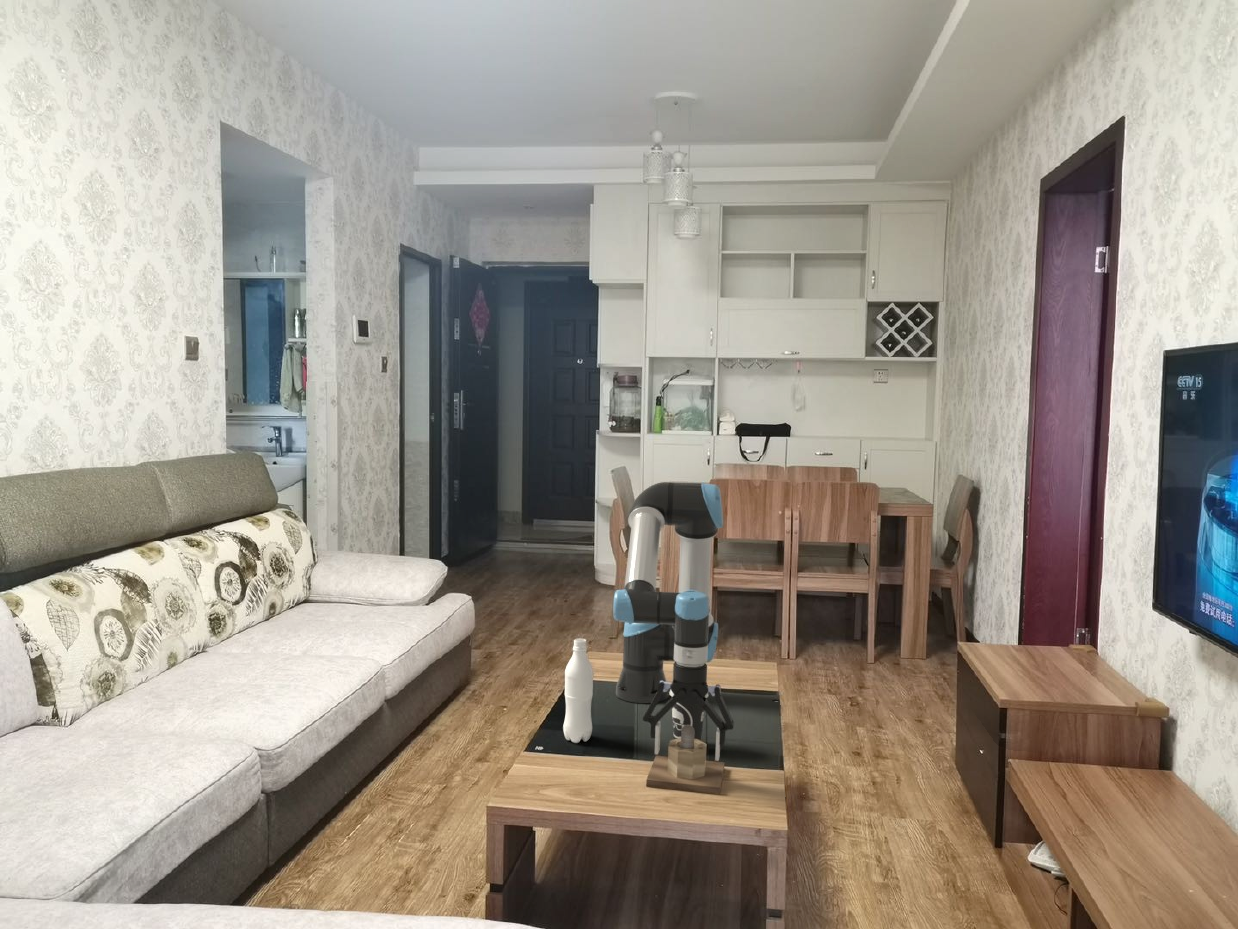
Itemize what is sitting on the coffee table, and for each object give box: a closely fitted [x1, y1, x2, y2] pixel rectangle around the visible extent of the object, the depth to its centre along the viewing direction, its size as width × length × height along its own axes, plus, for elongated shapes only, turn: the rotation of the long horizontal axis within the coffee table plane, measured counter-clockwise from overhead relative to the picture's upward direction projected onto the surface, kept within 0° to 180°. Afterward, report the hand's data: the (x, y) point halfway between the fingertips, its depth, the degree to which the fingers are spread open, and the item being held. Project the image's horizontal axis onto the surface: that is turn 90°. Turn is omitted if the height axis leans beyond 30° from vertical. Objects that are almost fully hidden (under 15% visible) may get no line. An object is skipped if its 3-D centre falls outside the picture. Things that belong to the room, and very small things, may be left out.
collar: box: [667, 738, 707, 779], centre depth 201 cm, size 8×8×6 cm
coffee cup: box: [668, 689, 709, 741], centre depth 220 cm, size 10×10×15 cm
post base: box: [645, 725, 725, 795], centre depth 201 cm, size 14×16×12 cm
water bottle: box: [562, 638, 595, 744], centre depth 222 cm, size 7×7×25 cm
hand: (687, 755), depth 201 cm, fingers open, 13 cm apart
